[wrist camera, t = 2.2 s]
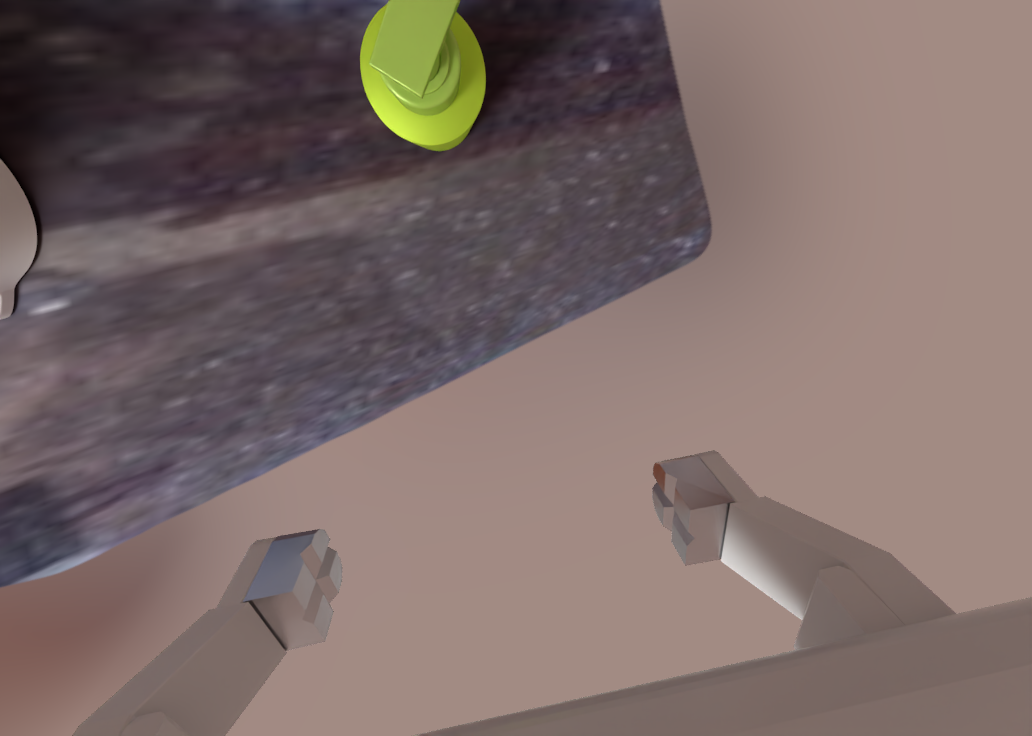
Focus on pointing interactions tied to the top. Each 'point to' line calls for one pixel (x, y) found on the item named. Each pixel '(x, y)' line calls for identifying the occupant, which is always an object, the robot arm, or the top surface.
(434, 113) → the soap dispenser
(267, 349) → the top surface
